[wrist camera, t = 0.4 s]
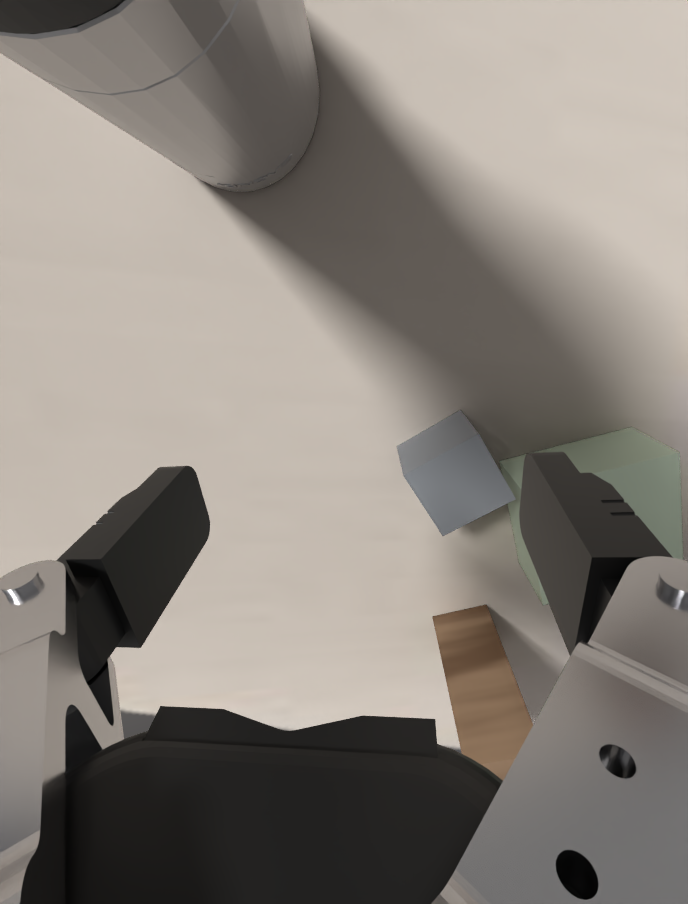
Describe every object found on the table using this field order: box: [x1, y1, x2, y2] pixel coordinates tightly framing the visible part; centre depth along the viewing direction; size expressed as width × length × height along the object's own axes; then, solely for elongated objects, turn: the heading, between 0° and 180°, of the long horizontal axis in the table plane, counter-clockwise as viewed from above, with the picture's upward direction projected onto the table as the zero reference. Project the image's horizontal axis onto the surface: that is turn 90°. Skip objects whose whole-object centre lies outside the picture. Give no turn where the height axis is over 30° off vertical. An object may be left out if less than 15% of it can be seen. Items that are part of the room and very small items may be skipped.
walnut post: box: [433, 605, 533, 780], centre depth 31 cm, size 4×4×12 cm
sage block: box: [499, 427, 683, 605], centre depth 30 cm, size 9×9×5 cm
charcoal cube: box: [397, 410, 516, 536], centre depth 29 cm, size 5×5×5 cm
